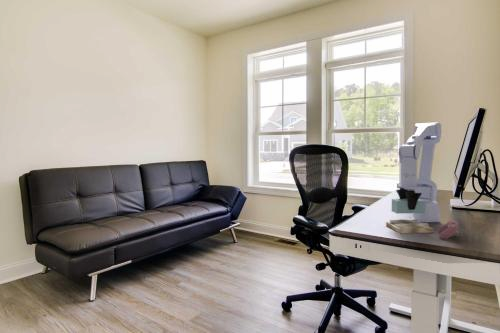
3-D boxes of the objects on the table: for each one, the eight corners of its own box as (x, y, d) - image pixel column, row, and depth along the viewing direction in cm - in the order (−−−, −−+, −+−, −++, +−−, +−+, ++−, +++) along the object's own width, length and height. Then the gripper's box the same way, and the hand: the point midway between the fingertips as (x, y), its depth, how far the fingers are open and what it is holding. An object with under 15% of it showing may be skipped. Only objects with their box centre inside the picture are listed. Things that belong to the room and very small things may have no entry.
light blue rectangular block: (418, 210, 122) (418, 198, 121) (424, 213, 117) (425, 200, 117) (391, 211, 122) (391, 199, 121) (397, 213, 117) (397, 200, 117)
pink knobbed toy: (450, 244, 104) (462, 228, 102) (437, 237, 106) (448, 221, 104) (449, 237, 113) (459, 222, 111) (436, 230, 115) (447, 215, 113)
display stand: (416, 225, 125) (416, 218, 125) (433, 232, 114) (433, 224, 114) (386, 225, 125) (386, 218, 125) (399, 233, 114) (399, 225, 114)
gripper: (390, 173, 126) (389, 204, 126) (408, 176, 111) (408, 212, 112) (406, 173, 126) (406, 204, 126) (427, 176, 111) (426, 211, 112)
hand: (408, 208), depth 119 cm, fingers closed on light blue rectangular block, 4 cm apart
